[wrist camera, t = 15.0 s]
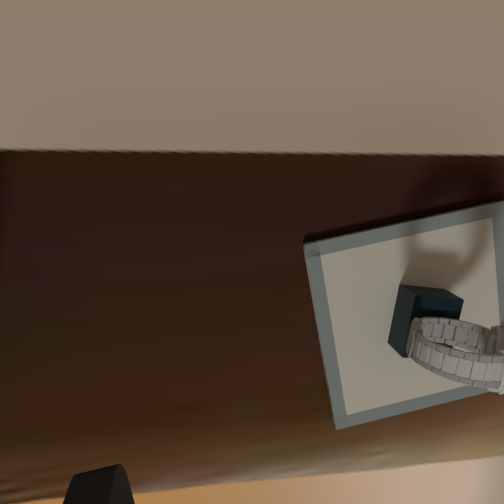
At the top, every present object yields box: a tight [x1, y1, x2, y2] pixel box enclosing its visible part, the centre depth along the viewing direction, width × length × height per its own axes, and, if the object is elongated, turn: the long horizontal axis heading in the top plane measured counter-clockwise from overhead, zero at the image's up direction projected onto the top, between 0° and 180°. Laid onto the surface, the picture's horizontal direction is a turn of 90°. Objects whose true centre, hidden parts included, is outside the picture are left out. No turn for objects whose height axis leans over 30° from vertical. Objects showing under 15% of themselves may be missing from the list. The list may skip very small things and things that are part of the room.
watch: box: [387, 284, 504, 394], centre depth 37 cm, size 6×8×11 cm
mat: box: [303, 201, 504, 430], centre depth 42 cm, size 18×18×1 cm
